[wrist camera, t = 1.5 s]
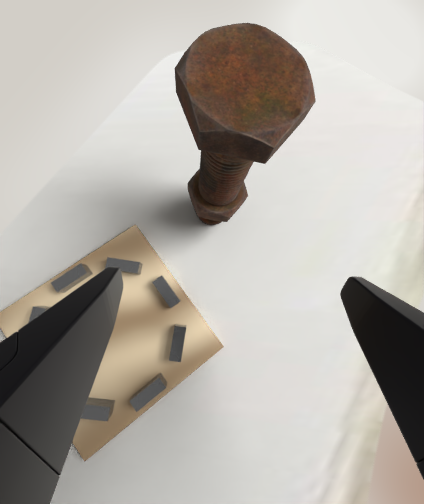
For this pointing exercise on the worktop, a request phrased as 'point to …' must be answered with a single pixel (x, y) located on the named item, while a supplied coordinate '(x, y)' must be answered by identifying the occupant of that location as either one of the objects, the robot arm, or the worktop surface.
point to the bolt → (238, 108)
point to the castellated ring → (104, 407)
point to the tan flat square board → (129, 335)
